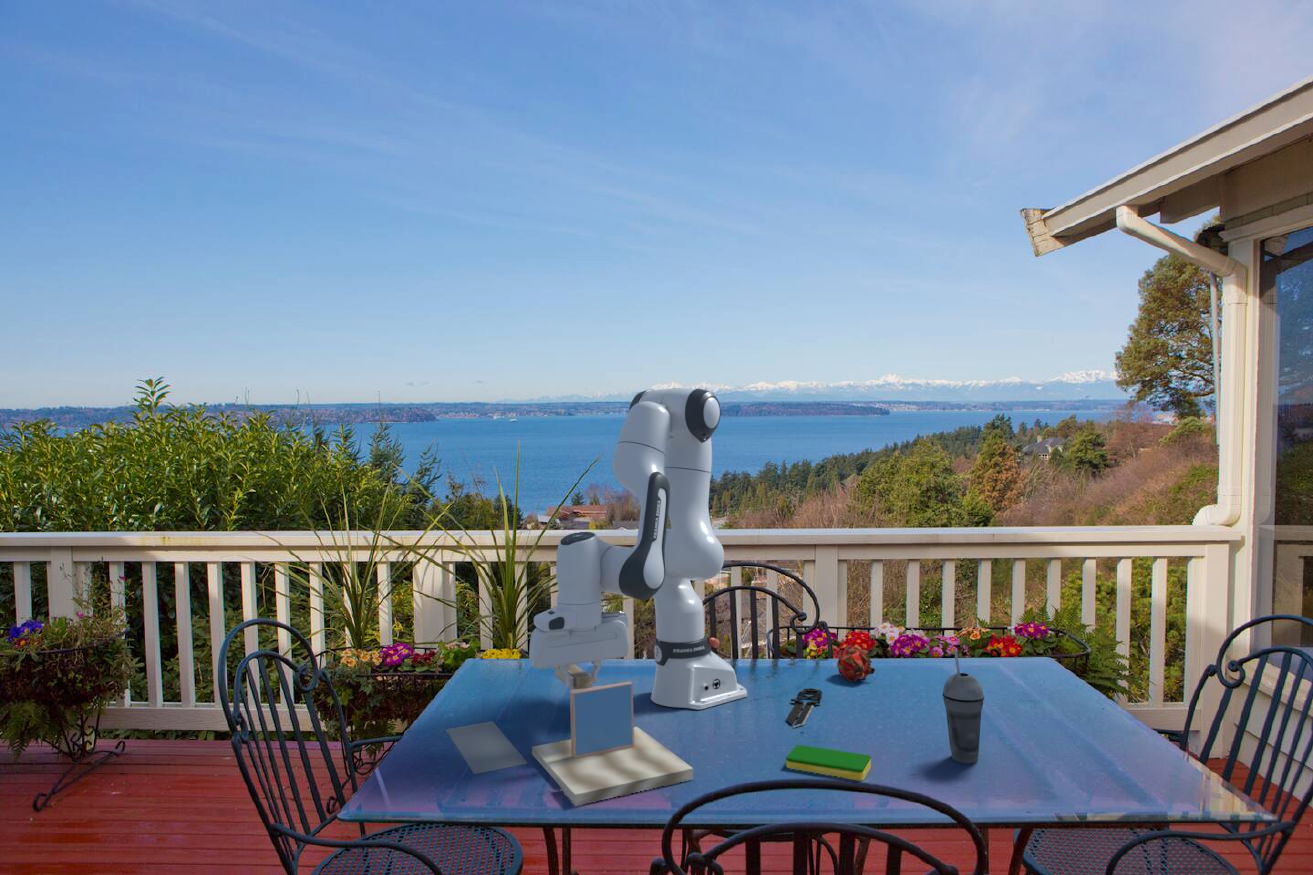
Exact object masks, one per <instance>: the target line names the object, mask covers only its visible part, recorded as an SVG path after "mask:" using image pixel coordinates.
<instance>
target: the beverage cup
mask: <svg viewBox="0 0 1313 875" xmlns="http://www.w3.org/2000/svg"><path fill="white" fill-rule="evenodd" d="M953 651H954V660H955V666H956V673H954V674H952V675H951V676H949V677H948V678H947V680H946V681H945V683H944V685H943V690H942V698H943V702H944V706H945V713H946V722H947V730H948V739H949V748H950V753H951V759H952V760H953V761H955V762H957V763H962V764H975V763H977V762H978V760H979V752H980V739H981V738H980V737H981V736H980V735H981V722H982V721H981V720H982V710H983V705H984V701H985V695H984V691H983V687H982V685H981V684H980V682H979V681H978V680H977V679H976V678H975V677H974V676H972V674H969V673H966V672H961V670H960V665H959V656H958V655H959V654H958V649H957V648H954V649H953Z"/></svg>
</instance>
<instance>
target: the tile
mask: <svg viewBox="0 0 1313 875" xmlns="http://www.w3.org/2000/svg"><path fill="white" fill-rule="evenodd" d="M598 686H599V687H593V686H592V687H593V688H587V689H580V690H574V691H569V709H570V710H569V713H570V739H571V756H572V757H573V758H574V759H578V758H582V757H587V756H592V755H597V754H602V753H607V752H612V751H617V750H622V749H627V748H632V747H634V727H635V726H634V724H635V723H634V720H635V719H634V692H633V691H634V689H633V688H634V687H633V686H634V685H633V682H631V681H625V682H618V683H612V684H607V685H598Z"/></svg>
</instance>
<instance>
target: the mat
mask: <svg viewBox="0 0 1313 875" xmlns="http://www.w3.org/2000/svg"><path fill="white" fill-rule="evenodd" d="M445 731H446V733H447V735H448V737H449V738H450V739H451V741H452V742H453V744H454V746H455V747H456V749H457V750H458V751H459V753H460V754H461V756H462V758H463V759H464V761H465V762H466V764H467V766H468V768H470V770H471V772H472V773H473V775H478V774H485V773H488V772H493V771H498V770H503V769H504V770H505V769H508V768H513V767H518V766H523V765H528V764H529V763H528V761H527V760H526V759H525V758H524V757H523V755H522V754H521V753H520V752H519V751H518V750H517V748H516V747H515V746H514V745H513V743H512V742H511V741H510V740H509V739H508V738H507V736H506V735H505V734H504V733H503V732H502V730H501V729H500V728H499V727H498V726H497V725H496V723H495V722H494V721H493V720H491V721H485V722H481V723H474V724H468V725H464V726H457V727H451V728H446V729H445Z"/></svg>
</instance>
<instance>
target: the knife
mask: <svg viewBox="0 0 1313 875" xmlns="http://www.w3.org/2000/svg"><path fill="white" fill-rule="evenodd" d="M822 694H823V691H822V690H821V689H816V688H814V687H812V688H811V687H809V688H807V687H806V688H803V690H800V691H798V693H797V699H796V698H791V699H790V702H793V707H792V709H791V711H790V712H789V714H788V715H787V717H786V718H785V720H786V721H787V722H788V723H790V725H793V729H795V728H797V727H800V726H804V725H805V724H806V721H807V720H808V718H809V716H810V714H811V713H812V711H813V709H814V707H816V706H819V707H820V706H821V700H822ZM808 695H810V696H808ZM803 698H805V700H806V701H807V700H808V701H807V702H806V704H804V703H805V702H804V701H803V700H802V699H803ZM801 710H802V711H801Z"/></svg>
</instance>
